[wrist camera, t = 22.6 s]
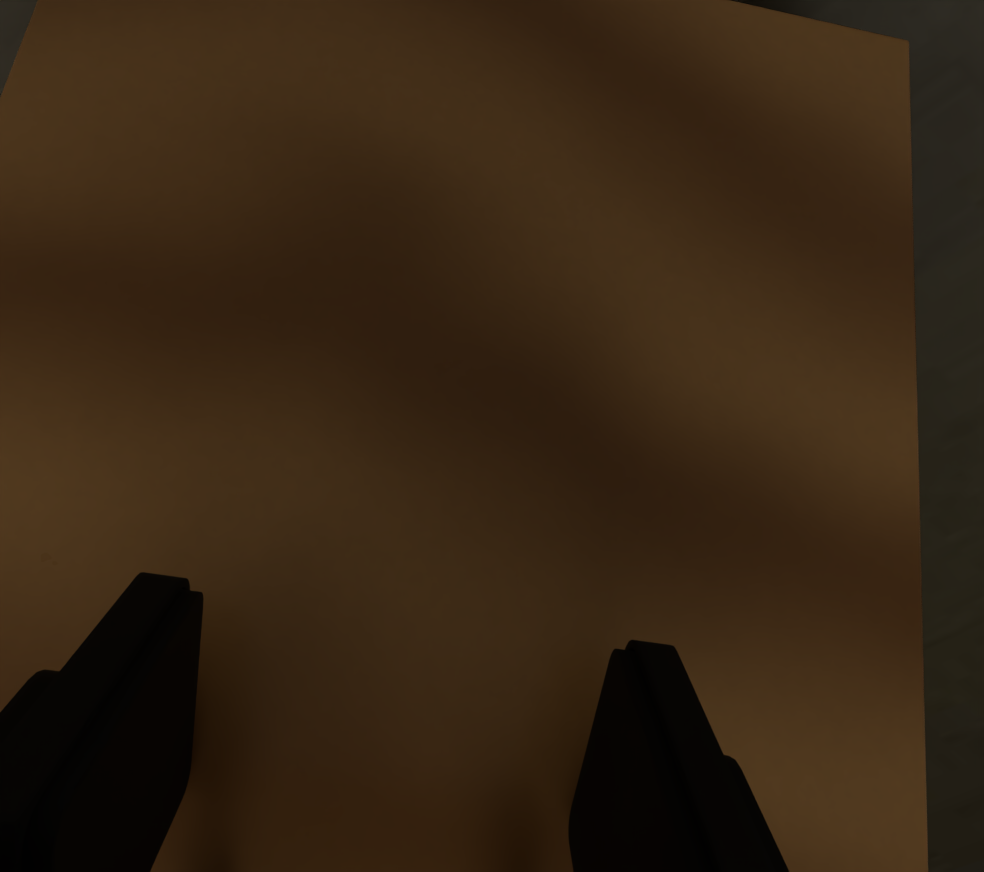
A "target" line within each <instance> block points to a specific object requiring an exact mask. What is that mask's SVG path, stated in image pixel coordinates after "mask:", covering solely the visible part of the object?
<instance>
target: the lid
mask: <svg viewBox="0 0 984 872" xmlns="http://www.w3.org/2000/svg"><path fill="white" fill-rule="evenodd" d="M140 572H146V573H153V574H160V575H168V576H175V577H182V578H187V579H188V580H189V584H190V590H191V591H198V592H202V593H203V598H204V600H203V616H202V629H201V642H200V656H199V669H198V682H197V695H196V708H195V721H194V734H193V747H192V761H191V770H190V775H189V780H188V784H187V787H186V791H185V794H184V796H183V799H182V801H181V803H180V806H179V808H178V810H177V812H176V815H175V817H174V819H173V821H172V824H171V826H170V828H169V830H168V833H167V835H166V837H165V839H164V842H163V844H162V846H161V848H160V850H159V853H158V855H157V857H156V859H155V862H154V864H153V866H152V868H151V871H150V872H573V865H572V859H571V853H570V846H569V838H568V826H569V815H570V810H571V806H572V802H573V798H574V794H575V790H576V786H577V783H578V779H579V775H580V771H581V767H582V763H583V759H584V755H585V752H586V748H587V744H588V740H589V736H590V732H591V728H592V725H593V721H594V717H595V713H596V709H597V705H598V701H599V697H600V694H601V690H602V686H603V682H604V678H605V674H606V670H607V666H608V663H609V659H610V656H611V653H612V651H613V650H614V649H615V648H616V649H623V650H625V648H626V645H627V644H628V642H629V641H630V640H639V641H646V642H653V643H661V644H668V645H672V646H674V647H675V648H676V650H677V652H678V654H679V656H680V658H681V661H682V663H683V665H684V667H685V670H686V672H687V674H688V676H689V678H690V681H691V683H692V685H693V687H694V690H695V692H696V694H697V696H698V699H699V701H700V703H701V705H702V708H703V710H704V712H705V714H706V716H707V719H708V721H709V723H710V725H711V728H712V730H713V732H714V734H715V737H716V739H717V741H718V743H719V745H720V748H721V750H722V752H723V754H724V755H728V756H730V757H732V758H734V759H735V760H736V761H737V763H738V764H739V766H740V767H741V769H742V771H743V773H744V775H745V778H746V780H747V782H748V784H749V786H750V788H751V790H752V793H753V795H754V797H755V799H756V801H757V803H758V805H759V808H760V810H761V812H762V814H763V816H764V818H765V820H766V823H767V825H768V827H769V829H770V831H771V833H772V835H773V838H774V840H775V842H776V844H777V846H778V848H779V850H780V852H781V855H782V857H783V859H784V861H785V863H786V865H787V867H788V870H789V872H928V845H927V802H926V759H925V715H924V672H923V629H922V586H921V542H920V499H919V456H918V413H917V369H916V326H915V283H914V239H913V196H912V153H911V110H910V66H909V42H908V41H907V40H904V39H899V38H895V37H890V36H886V35H882V34H877V33H873V32H868V31H864V30H860V29H855V28H851V27H846V26H842V25H837V24H833V23H829V22H824V21H820V20H815V19H811V18H807V17H802V16H798V15H793V14H789V13H785V12H780V11H776V10H771V9H767V8H763V7H758V6H754V5H749V4H745V3H741V2H736V1H732V0H38V1H37V3H36V6H35V9H34V11H33V14H32V16H31V19H30V22H29V24H28V27H27V29H26V32H25V35H24V37H23V40H22V42H21V45H20V48H19V50H18V53H17V55H16V58H15V61H14V63H13V66H12V68H11V71H10V74H9V76H8V79H7V81H6V84H5V87H4V89H3V92H2V94H1V97H0V712H1V711H2V710H3V708H4V707H5V706H6V705H7V704H8V703H9V701H10V700H11V699H12V698H13V697H14V696H15V694H16V693H17V692H18V691H19V690H20V689H21V687H22V686H23V685H24V684H25V683H26V682H27V680H28V679H29V678H31V677H32V676H33V675H34V674H35V673H36V672H38V671H41V670H44V669H46V670H54V671H60V670H61V669H62V668H63V666H64V665H65V664H66V663H67V661H68V660H69V659H70V658H71V656H72V655H73V654H74V653H75V651H76V650H77V649H78V648H79V647H80V645H81V644H82V643H83V642H84V640H85V639H86V638H87V637H88V635H89V634H90V633H91V632H92V630H93V629H94V628H95V627H96V625H97V624H98V623H99V622H100V620H101V619H102V618H103V617H104V616H105V614H106V613H107V612H108V611H109V609H110V608H111V607H112V606H113V604H114V603H115V602H116V601H117V599H118V598H119V597H120V596H121V594H122V593H123V592H124V591H125V589H126V588H127V587H128V586H129V585H130V583H131V582H132V581H133V580H134V578H135V577H136V576H137V575H138V574H139V573H140Z"/></svg>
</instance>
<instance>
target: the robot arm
mask: <svg viewBox="0 0 984 872" xmlns="http://www.w3.org/2000/svg"><path fill="white" fill-rule="evenodd" d="M203 600H204V598H203V593H202V592H198V591H191V590H190V584H189V580H188V579H187V578H182V577H175V576H168V575H160V574H153V573H146V572H140V573H139V574H138V575H137V576H136V577H135V578H134V580H133V581H132V582H131V583H130V585H129V586H128V587H127V588H126V589H125V591H124V592H123V593H122V594H121V596H120V597H119V598H118V599H117V601H116V602H115V603H114V604H113V606H112V607H111V608H110V609H109V611H108V612H107V613H106V614H105V616H104V617H103V618H102V619H101V620H100V622H99V623H98V624H97V625H96V627H95V628H94V629H93V630H92V632H91V633H90V634H89V635H88V637H87V638H86V639H85V640H84V642H83V643H82V644H81V645H80V647H79V648H78V649H77V650H76V651H75V653H74V654H73V655H72V656H71V658H70V659H69V660H68V661H67V663H66V664H65V665H64V666H63V668H62V669H61V670H60V671H54V670H46V669H44V670H41V671H38V672H36V673H35V674H34V675H33V676H32V677H31V678H29V679H28V680H27V682H26V683H25V684H24V685H23V686H22V687H21V689H20V690H19V691H18V692H17V693H16V694H15V696H14V697H13V698H12V699H11V700H10V701H9V703H8V704H7V705H6V706H5V707H4V708H3V710H2V711H1V712H0V872H150V871H151V868H152V866H153V864H154V862H155V859H156V857H157V855H158V853H159V850H160V848H161V846H162V844H163V842H164V839H165V837H166V835H167V833H168V830H169V828H170V826H171V824H172V821H173V819H174V817H175V815H176V812H177V810H178V808H179V806H180V803H181V801H182V799H183V796H184V794H185V791H186V787H187V784H188V780H189V775H190V770H191V761H192V747H193V734H194V721H195V708H196V695H197V682H198V669H199V656H200V642H201V629H202V616H203ZM568 838H569V846H570V853H571V859H572V865H573V872H789V870H788V867H787V865H786V863H785V861H784V859H783V857H782V855H781V852H780V850H779V848H778V846H777V844H776V842H775V840H774V838H773V835H772V833H771V831H770V829H769V827H768V825H767V823H766V820H765V818H764V816H763V814H762V812H761V810H760V808H759V805H758V803H757V801H756V799H755V797H754V795H753V793H752V790H751V788H750V786H749V784H748V782H747V780H746V778H745V775H744V773H743V771H742V769H741V767H740V766H739V764H738V763H737V761H736V760H735V759H734V758H732V757H730V756H728V755H724V754H723V752H722V750H721V748H720V745H719V743H718V741H717V739H716V737H715V734H714V732H713V730H712V728H711V725H710V723H709V721H708V719H707V716H706V714H705V712H704V710H703V708H702V705H701V703H700V701H699V699H698V696H697V694H696V692H695V690H694V687H693V685H692V683H691V681H690V678H689V676H688V674H687V672H686V670H685V667H684V665H683V663H682V661H681V658H680V656H679V654H678V652H677V650H676V648H675V647H674V646H672V645H668V644H661V643H653V642H646V641H639V640H630V641H629V642H628V644H627V645H626V648H625V650H623V649H616V648H615V649H614V650H613V651H612V653H611V656H610V659H609V663H608V666H607V670H606V674H605V678H604V682H603V686H602V690H601V694H600V697H599V701H598V705H597V709H596V713H595V717H594V721H593V725H592V728H591V732H590V736H589V740H588V744H587V748H586V752H585V755H584V759H583V763H582V767H581V771H580V775H579V779H578V783H577V786H576V790H575V794H574V798H573V802H572V806H571V810H570V815H569V826H568Z"/></svg>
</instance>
